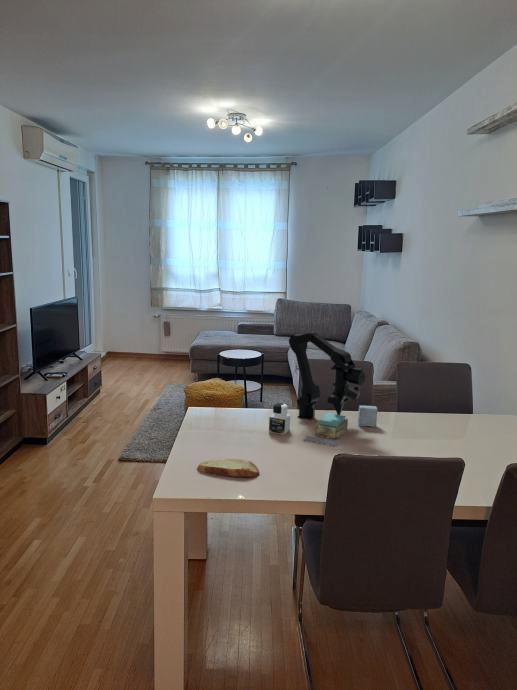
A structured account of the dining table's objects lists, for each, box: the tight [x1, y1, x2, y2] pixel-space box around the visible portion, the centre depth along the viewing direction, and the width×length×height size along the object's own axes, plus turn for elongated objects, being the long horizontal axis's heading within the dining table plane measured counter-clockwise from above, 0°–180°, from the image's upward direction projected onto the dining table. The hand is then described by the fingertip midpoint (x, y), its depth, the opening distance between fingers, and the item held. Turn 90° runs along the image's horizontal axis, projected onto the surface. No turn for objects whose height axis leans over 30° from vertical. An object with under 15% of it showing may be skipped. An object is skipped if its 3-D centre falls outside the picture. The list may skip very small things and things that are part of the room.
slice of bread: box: [196, 458, 260, 478], centre depth 182 cm, size 18×18×4 cm
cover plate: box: [318, 412, 346, 428], centre depth 225 cm, size 8×11×2 cm
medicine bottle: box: [268, 402, 291, 435], centre depth 224 cm, size 7×7×12 cm
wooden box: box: [314, 418, 349, 440], centre depth 225 cm, size 10×14×5 cm
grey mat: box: [303, 435, 341, 447], centre depth 214 cm, size 14×5×1 cm, turn 65°
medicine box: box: [357, 405, 378, 428], centre depth 236 cm, size 8×4×9 cm, turn 84°
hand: (338, 414), depth 233 cm, fingers closed
